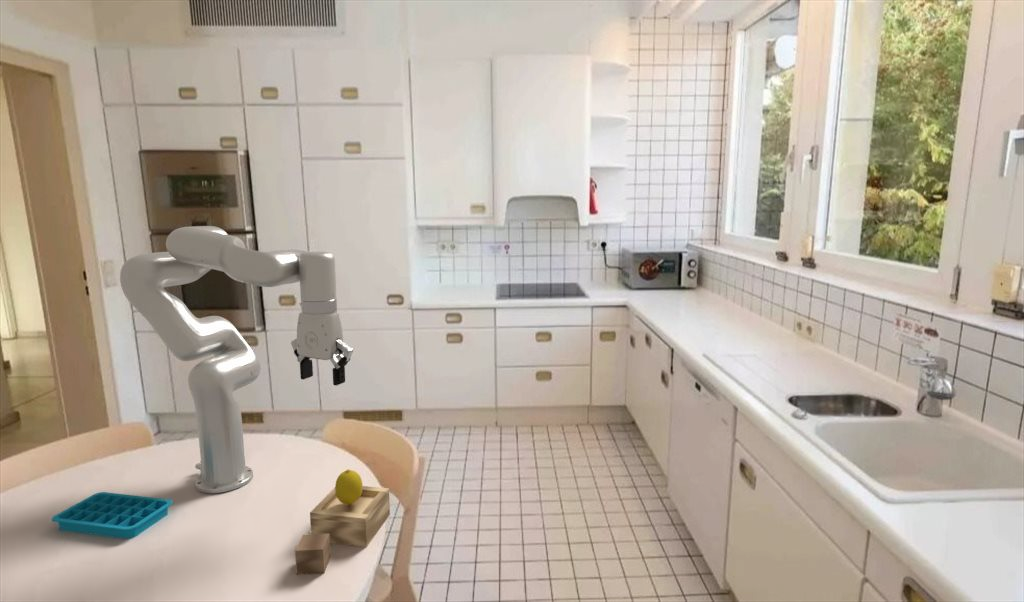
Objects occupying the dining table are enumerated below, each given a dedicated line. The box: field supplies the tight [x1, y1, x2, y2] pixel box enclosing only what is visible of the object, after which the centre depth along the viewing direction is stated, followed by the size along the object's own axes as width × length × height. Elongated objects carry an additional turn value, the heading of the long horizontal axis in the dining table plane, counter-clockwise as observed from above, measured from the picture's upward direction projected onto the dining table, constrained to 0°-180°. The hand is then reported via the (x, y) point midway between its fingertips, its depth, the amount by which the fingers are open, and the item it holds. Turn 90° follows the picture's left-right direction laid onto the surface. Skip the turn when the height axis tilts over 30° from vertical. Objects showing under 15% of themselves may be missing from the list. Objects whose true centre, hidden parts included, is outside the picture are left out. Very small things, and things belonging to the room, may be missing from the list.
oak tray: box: [309, 485, 391, 548], centre depth 115 cm, size 12×12×6 cm
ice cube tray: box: [51, 491, 174, 539], centre depth 117 cm, size 12×20×3 cm, turn 80°
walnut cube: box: [294, 533, 332, 576], centre depth 102 cm, size 5×5×5 cm
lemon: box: [334, 469, 364, 505], centre depth 114 cm, size 6×6×8 cm
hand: (322, 380), depth 123 cm, fingers open, 9 cm apart
